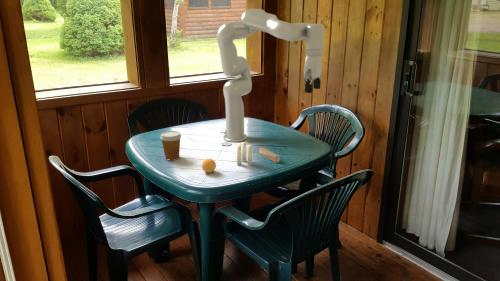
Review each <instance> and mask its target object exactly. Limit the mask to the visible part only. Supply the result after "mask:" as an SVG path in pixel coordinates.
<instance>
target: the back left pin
mask: <svg viewBox="0 0 500 281" xmlns="http://www.w3.org/2000/svg"><path fill="white" fill-rule="evenodd" d="M241 159H242V163H245V162H247V142H246V141H241Z"/></svg>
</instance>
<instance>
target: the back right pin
mask: <svg viewBox="0 0 500 281" xmlns="http://www.w3.org/2000/svg"><path fill="white" fill-rule="evenodd" d="M246 154H247V166H251V167H252V166H253V146H252V144H247V145H246Z"/></svg>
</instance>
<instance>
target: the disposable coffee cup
mask: <svg viewBox="0 0 500 281" xmlns="http://www.w3.org/2000/svg"><path fill="white" fill-rule="evenodd" d="M181 137H182V135H181V133H180V131H177V130H168V131H165V132H161V134H160V137H159V138H160V140H161V143H162V148H163V152H164V157H165V160H167V159H170V160H169V161H175V160H174V159H176V160H179V159H180V148H181V147H180V144H181Z"/></svg>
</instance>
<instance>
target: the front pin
mask: <svg viewBox="0 0 500 281" xmlns="http://www.w3.org/2000/svg"><path fill="white" fill-rule="evenodd" d="M242 163H243V162H242V144H241V145H239V144H238V145H236V165H237V166H239V167H240V166H242Z"/></svg>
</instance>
